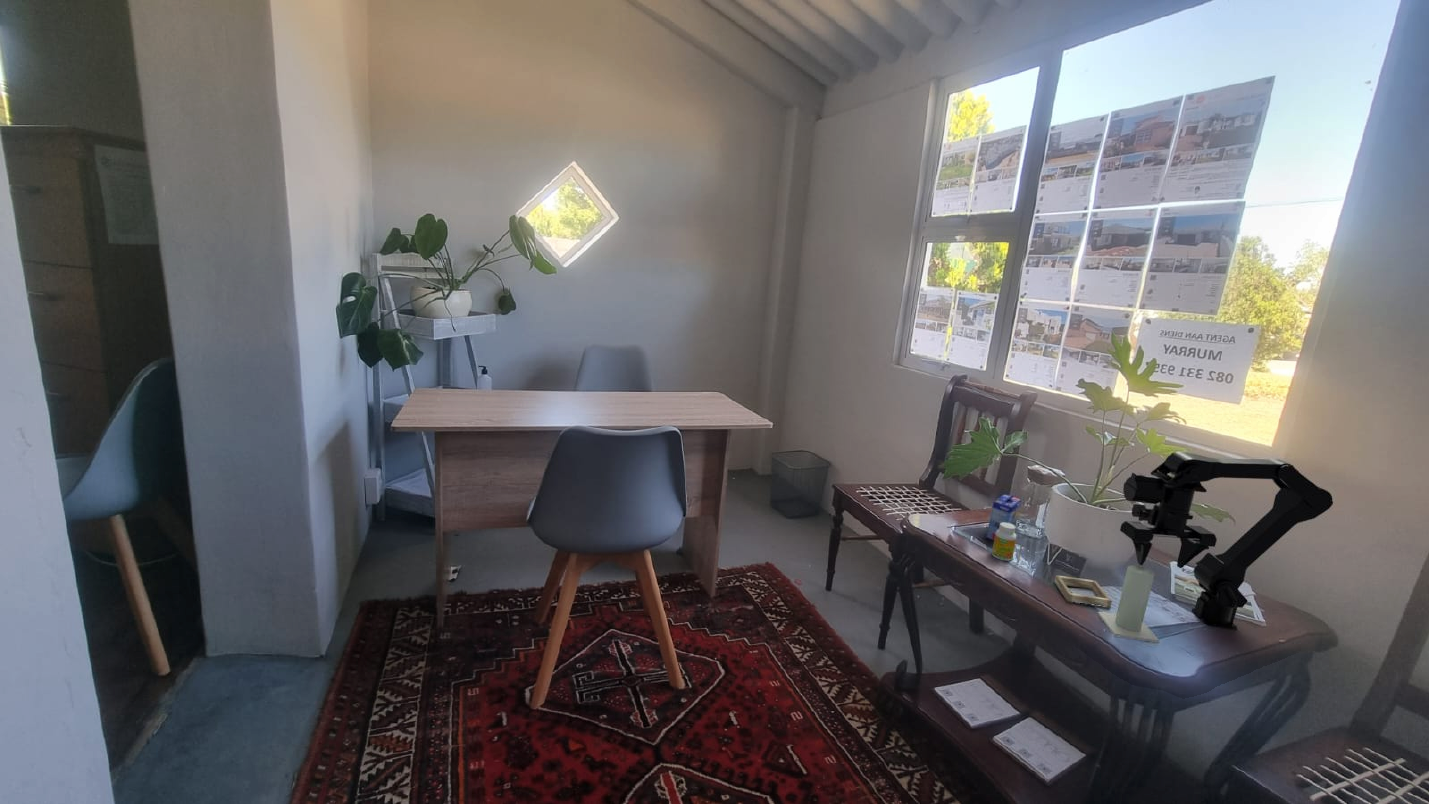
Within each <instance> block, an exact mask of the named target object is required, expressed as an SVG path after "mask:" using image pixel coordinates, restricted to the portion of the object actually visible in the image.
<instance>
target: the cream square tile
mask: <svg viewBox="0 0 1429 804" xmlns="http://www.w3.org/2000/svg"><path fill="white" fill-rule="evenodd" d="M1097 613H1098V614H1097V615H1098V616H1099V618H1100V619H1101V620H1102V622H1103V621H1104V622H1103V623H1104V625H1106V627H1107V629H1108V630H1109V629H1110V630H1109V632H1110V633H1111V634H1112V635H1113V637H1118V636H1120V637H1119V638H1125V639H1132V640H1136V641H1137V640H1139V641H1143V642H1150V643H1151V642H1152V643H1156V644H1157V643H1158V644H1159V642H1160V639H1159V638H1158V637H1157V636H1156V635H1155V634H1154V632H1152V630H1151V629H1150V627H1148V625H1146V623H1145V622H1144V621H1143V623H1142V627H1141V631H1139V632H1132V631H1128V630H1125V629H1123V628H1121V627H1119V626H1118V625H1117V624H1116V623H1115V619H1116V615H1117V613H1112V612H1103V611H1097Z"/></svg>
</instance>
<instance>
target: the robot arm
mask: <svg viewBox="0 0 1429 804" xmlns="http://www.w3.org/2000/svg"><path fill="white" fill-rule="evenodd" d="M1169 474H1171V475H1172V476H1173V477H1172V476H1171V475H1169ZM1222 478H1223V479H1250V480H1251V479H1252V480H1253V479H1256V480H1257V479H1258V480H1272V482H1273V483H1274V484H1275V486H1277V487H1278V488H1279V490H1278V491H1277V493H1276V494H1275V497H1274V499H1273V504H1272V508H1271V509H1270V510H1269V511H1268V512H1267V513H1266V514H1265V515H1264V516H1262V517H1261V518H1260V519H1259V520H1258V521H1257V522H1256V523H1255V524H1254V525H1253V526H1251V528H1249V529H1248V530H1247V531H1246V532H1245V533H1244V534H1243V535H1242V536H1241V537H1239V538H1238V539H1237V540H1236V541H1235V542H1234V543H1233V544H1232V545H1231V546H1230V547H1229V548H1228V549H1227V550H1225V551H1224V552H1223V553H1219V554H1215V555H1214V554H1213V553H1211V552H1207V553H1206V554H1204V555H1203V557H1202V559H1200V560H1199V561H1197V562H1195V564H1196V566H1195V567H1194V569H1193V576H1194V577H1195V580H1197V582H1198V587H1200V588H1201V589H1203V590H1202V591H1201V592H1200V595H1199V596H1198V597H1197V600H1196V602H1195V607H1193V608H1191V611H1192V612H1193V613H1194V614H1195V615H1196V616H1197V617H1198V618H1199V620H1201V621H1202V623H1204V624H1205V625H1207V626H1215V627H1220V628H1227V629H1232V630H1233V629H1234V630H1238V626H1237V625H1236V624H1235V623H1234V622H1235V618H1236V614H1237V611H1238V608H1244V607H1245V606H1246V604H1247V603H1248V599H1247V598H1246V597H1245V596H1244V594H1243V593H1242V592H1241V591H1240V590H1239V588H1240V587H1242V585H1243V583H1244V582H1245V577H1246V572H1247V570H1248V568H1249V567H1250V566H1251V565H1252V564H1254V563H1255V562H1256V561H1257V560H1258V559H1259V558H1260V557H1262V555H1263V554H1265V553H1266V552H1267V551H1268V550H1269V549H1271V547H1272V546H1274V545H1275V544H1276V543H1277V542H1278V541H1279V540H1280V539H1282V537H1284V536H1285V535H1286V534H1287V533H1288V532H1289V531H1290V530H1292V528H1294V527H1295V526H1296V525H1298V524H1300V523H1303V522H1307V521H1310V520H1314V519H1316V518H1317V517H1319V516H1321V515H1322V514H1324V513H1325V512H1327V511H1328V510H1329V509H1331V507H1333V505H1334V501H1333V496H1332V494H1331V493H1330V492H1329V491H1328V490H1327V489H1325V488H1322V487H1320V486H1317V485H1316V484H1315V483H1314V482H1312V480H1310V479H1308V478H1307V477H1306V476H1305V475H1304V474H1302V472H1300V471H1299V470H1298V469H1297V468H1296V467H1295V466H1294V465H1293V464H1291V463H1290V462H1289V463H1288V462H1286V461H1284V460H1282V459H1279V458H1270V459H1269V458H1268V459H1260V458H1259V459H1258V458H1255V459H1254V458H1252V459H1251V458H1225V457H1224V458H1221V457H1220V458H1219V457H1218V458H1216V457H1214V458H1213V457H1208V456H1203V455H1200V454H1197V453H1191V452H1186V451H1185V452H1184V451H1174V452H1171V453H1170V455H1168V456H1167V457H1166V459H1165V461H1163V462H1162V463H1161V464H1159V465H1157V467H1155V469H1153V470H1152V471H1150V474H1143V473H1139V472H1131V475H1130V476H1129V477H1127V479H1126V480H1125V482H1124V483H1123V490H1122V493H1123V496H1124V499H1125V500H1126V501H1127V502H1134V503H1133V506H1132V509H1131V515H1132V517H1134V518H1138V521H1132V520H1130V521H1129V520H1125V521H1123V522H1121V524H1120V528H1119V531H1120V532H1121V533H1122V534H1124V535H1125V536H1126V537H1127V538H1129V539H1131V541H1132V544H1133V546H1134V551H1135V555H1136V556H1135V557H1136V561H1137V564H1138V566H1143V565H1144V563H1145V562H1146V560H1147V557H1148V555H1149V553H1150V551H1151V550H1152V549H1151V548H1152V546H1153V543H1152V542H1151V541H1152V540H1153V539H1154V537H1159V538H1161V537H1162V538H1174V539H1175V538H1176V539H1179V540H1180V543H1181V545H1180V549H1179V552H1178V557H1177V562H1176V566H1177V568H1179V569H1183V568H1184V567H1185V566H1187V564H1188V563H1190V562H1191V561H1192V560H1193V559H1194V558H1195V557H1197V556H1198V555H1199V554H1201V553H1202V552H1204V551H1206V550H1209V549H1210V547H1213V548H1216V545H1217V541H1218V538H1217V536H1216V534H1215V533H1214V532H1211V531H1210V530H1208V529H1206V528H1205V527H1203V526H1201V525H1189V524H1188V520H1189V521H1190V520H1193V518H1194V515H1193V514H1192V513H1190V511H1191V507H1192V504H1193V501H1194V500H1193V499H1194V496H1195V493H1196V492H1197V493H1198V492H1199V493H1207V489H1206V488H1205V487H1204V486H1203V484H1202V483H1204V482H1209V481H1212V480H1214V479H1222ZM1136 502H1137V503H1142V504H1137V503H1136ZM1143 503H1144V504H1143ZM1145 504H1151V505H1153V507H1152V508H1147V507H1146V505H1145ZM1144 521H1147V524H1148V525H1150V526H1153V527H1148V526H1147V525H1145V524H1144V523H1142V522H1144Z"/></svg>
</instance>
